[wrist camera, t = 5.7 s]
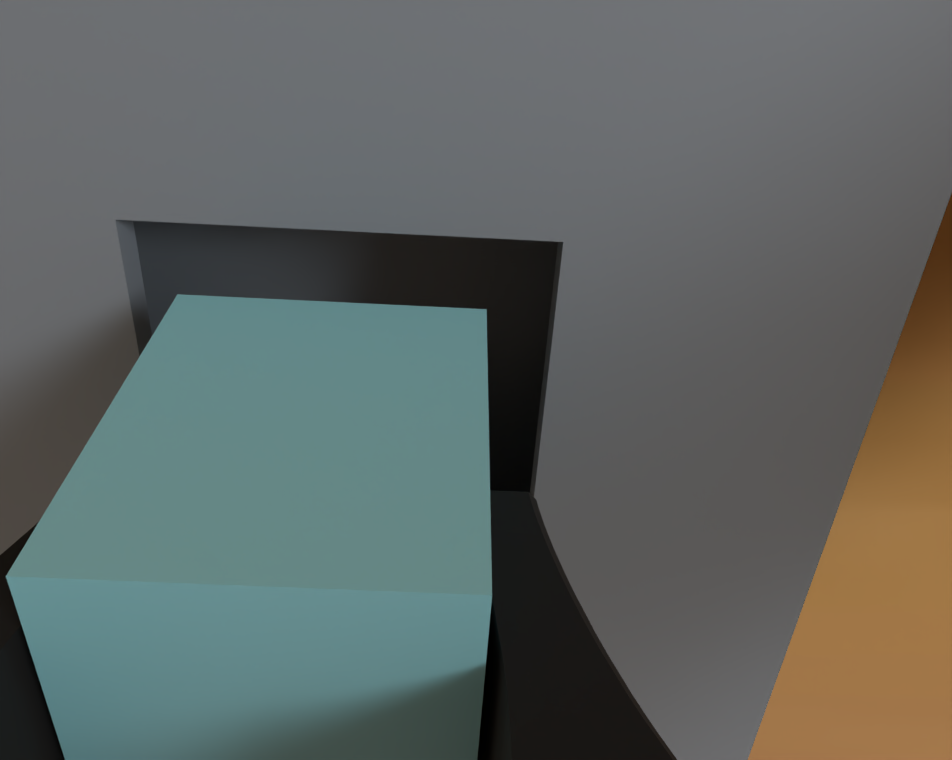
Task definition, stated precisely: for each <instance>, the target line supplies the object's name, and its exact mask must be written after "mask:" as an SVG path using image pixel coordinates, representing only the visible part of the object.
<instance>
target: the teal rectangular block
mask: <svg viewBox="0 0 952 760" xmlns="http://www.w3.org/2000/svg"><path fill="white" fill-rule="evenodd" d="M6 579H7V582H8V585H9V588H10V591H11V594H12V597H13V600H14V603H15V607H16V610H17V613H18V616H19V619H20V622H21V625H22V628H23V631H24V634H25V637H26V641H27V644H28V647H29V650H30V653H31V656H32V659H33V662H34V665H35V668H36V671H37V675H38V678H39V681H40V684H41V687H42V690H43V693H44V696H45V699H46V702H47V705H48V709H49V712H50V715H51V718H52V721H53V724H54V727H55V730H56V733H57V736H58V740H59V743H60V746H61V749H62V752H63V755H64V758H65V760H477V757H478V746H479V735H480V724H481V713H482V702H483V691H484V680H485V669H486V658H487V647H488V636H489V625H490V614H491V603H492V560H491V510H490V459H489V408H488V357H487V309H471V308H450V307H429V306H409V305H388V304H367V303H346V302H326V301H305V300H284V299H264V298H243V297H222V296H202V295H181V294H177V296H176V298H175V299H174V301H173V303H172V304H171V306H170V307H169V309H168V311H167V312H166V314H165V316H164V317H163V319H162V321H161V322H160V324H159V326H158V327H157V329H156V330H155V332H154V334H153V335H152V337H151V339H150V340H149V342H148V344H147V345H146V347H145V349H144V350H143V352H142V353H141V355H140V357H139V358H138V360H137V362H136V363H135V365H134V367H133V368H132V370H131V372H130V373H129V375H128V376H127V378H126V380H125V381H124V383H123V385H122V386H121V388H120V390H119V391H118V393H117V394H116V396H115V398H114V399H113V401H112V403H111V404H110V406H109V408H108V409H107V411H106V413H105V414H104V416H103V417H102V419H101V421H100V422H99V424H98V426H97V427H96V429H95V431H94V432H93V434H92V436H91V437H90V439H89V440H88V442H87V444H86V445H85V447H84V449H83V450H82V452H81V454H80V455H79V457H78V459H77V460H76V462H75V463H74V465H73V467H72V468H71V470H70V472H69V473H68V475H67V477H66V478H65V480H64V482H63V483H62V485H61V486H60V488H59V490H58V491H57V493H56V495H55V496H54V498H53V500H52V501H51V503H50V505H49V506H48V508H47V509H46V511H45V513H44V514H43V516H42V518H41V519H40V521H39V523H38V524H37V526H36V528H35V529H34V531H33V532H32V534H31V536H30V537H29V539H28V541H27V542H26V544H25V546H24V547H23V549H22V551H21V552H20V554H19V555H18V557H17V559H16V560H15V562H14V564H13V565H12V567H11V569H10V570H9V572H8V574H7V575H6Z"/></svg>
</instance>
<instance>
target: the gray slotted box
mask: <svg viewBox="0 0 952 760" xmlns="http://www.w3.org/2000/svg"><path fill="white" fill-rule="evenodd" d="M951 193H952V0H0V555H1V554H2V553H3V552H4V551H6V550H7V549H8V548H9V547H10V546H11V545H12V544H14V543H15V542H16V541H17V540H18V539H19V538H21V537H22V536H23V535H24V534H25V533H26V532H27V531H29V530H30V529H31V528H32V527H33V526H34V525H35V524H37V523H38V522H39V521H40V519H41V518H42V516H43V514H44V513H45V511H46V509H47V508H48V506H49V505H50V503H51V501H52V500H53V498H54V496H55V495H56V493H57V491H58V490H59V488H60V486H61V485H62V483H63V482H64V480H65V478H66V477H67V475H68V473H69V472H70V470H71V468H72V467H73V465H74V463H75V462H76V460H77V459H78V457H79V455H80V454H81V452H82V450H83V449H84V447H85V445H86V444H87V442H88V440H89V439H90V437H91V436H92V434H93V432H94V431H95V429H96V427H97V426H98V424H99V422H100V421H101V419H102V417H103V416H104V414H105V413H106V411H107V409H108V408H109V406H110V404H111V403H112V401H113V399H114V398H115V396H116V394H117V393H118V391H119V390H120V388H121V386H122V385H123V383H124V381H125V380H126V378H127V376H128V375H129V373H130V372H131V370H132V368H133V367H134V365H135V363H136V362H137V360H138V358H139V357H140V355H141V353H142V352H143V350H144V349H145V347H146V345H147V344H148V342H149V340H150V339H151V337H152V335H153V334H154V332H155V330H156V329H157V327H158V326H159V324H160V322H161V321H162V319H163V317H164V316H165V314H166V312H167V311H168V309H169V307H170V306H171V304H172V303H173V301H174V299H175V298H176V296H177V294H181V295H202V296H222V297H243V298H264V299H284V300H305V301H326V302H346V303H367V304H388V305H409V306H429V307H450V308H471V309H487V357H488V408H489V459H490V490H495V491H519V492H529V493H530V494H531V495H532V496H533V497H534V498H535V499H536V500H537V504H538V507H539V510H540V514H541V516H542V519H543V522H544V525H545V528H546V530H547V533H548V535H549V538H550V540H551V543H552V545H553V548H554V550H555V552H556V554H557V557H558V559H559V561H560V563H561V566H562V568H563V570H564V572H565V574H566V576H567V579H568V581H569V583H570V585H571V587H572V589H573V591H574V593H575V595H576V597H577V599H578V600H579V602H580V604H581V606H582V608H583V610H584V612H585V614H586V616H587V617H588V619H589V621H590V623H591V625H592V627H593V629H594V631H595V633H596V634H597V636H598V638H599V640H600V641H601V643H602V645H603V647H604V648H605V650H606V652H607V654H608V655H609V657H610V659H611V660H612V662H613V664H614V665H615V667H616V669H617V670H618V672H619V674H620V675H621V677H622V678H623V680H624V682H625V683H626V685H627V687H628V688H629V690H630V692H631V693H632V695H633V696H634V698H635V699H636V701H637V702H638V704H639V705H640V707H641V708H642V710H643V712H644V713H645V715H646V716H647V718H648V719H649V720H650V722H651V723H652V725H653V726H654V728H655V729H656V731H657V732H658V734H659V735H660V736H661V738H662V739H663V741H664V742H665V743H666V745H667V746H668V748H669V749H670V750H671V752H672V753H673V755H674V756H675V757H676V759H677V760H747V759H748V757H749V754H750V751H751V748H752V746H753V743H754V740H755V737H756V734H757V732H758V729H759V726H760V723H761V721H762V718H763V715H764V712H765V709H766V707H767V704H768V701H769V698H770V696H771V693H772V690H773V687H774V684H775V682H776V679H777V676H778V673H779V671H780V668H781V665H782V662H783V660H784V657H785V654H786V651H787V648H788V646H789V643H790V640H791V637H792V635H793V632H794V629H795V626H796V623H797V621H798V618H799V615H800V612H801V610H802V607H803V604H804V601H805V598H806V596H807V593H808V590H809V587H810V585H811V582H812V579H813V576H814V573H815V571H816V568H817V565H818V562H819V560H820V557H821V554H822V551H823V549H824V546H825V543H826V540H827V537H828V535H829V532H830V529H831V526H832V524H833V521H834V518H835V515H836V512H837V510H838V507H839V504H840V501H841V499H842V496H843V493H844V490H845V487H846V485H847V482H848V479H849V476H850V474H851V471H852V468H853V465H854V462H855V460H856V457H857V454H858V451H859V449H860V446H861V443H862V440H863V438H864V435H865V432H866V429H867V426H868V424H869V421H870V418H871V415H872V413H873V410H874V407H875V404H876V401H877V399H878V396H879V393H880V390H881V388H882V385H883V382H884V379H885V376H886V374H887V371H888V368H889V365H890V363H891V360H892V357H893V354H894V352H895V349H896V346H897V343H898V340H899V338H900V335H901V332H902V329H903V327H904V324H905V321H906V318H907V315H908V313H909V310H910V307H911V304H912V302H913V299H914V296H915V293H916V290H917V288H918V285H919V282H920V279H921V277H922V274H923V271H924V268H925V265H926V263H927V260H928V257H929V254H930V252H931V249H932V246H933V243H934V241H935V238H936V235H937V232H938V229H939V227H940V224H941V221H942V218H943V216H944V213H945V210H946V207H947V204H948V202H949V199H950V196H951Z"/></svg>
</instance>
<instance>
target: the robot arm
mask: <svg viewBox="0 0 952 760" xmlns="http://www.w3.org/2000/svg"><path fill="white" fill-rule="evenodd" d="M490 510H491V560H492V603H491V614H490V625H489V636H488V647H487V658H486V669H485V680H484V691H483V702H482V713H481V724H480V735H479V746H478V757H477V760H677V759H676V757H675V756H674V755H673V753H672V752H671V750H670V749H669V748H668V746H667V745H666V743H665V742H664V741H663V739H662V738H661V736H660V735H659V734H658V732H657V731H656V729H655V728H654V726H653V725H652V723H651V722H650V720H649V719H648V718H647V716H646V715H645V713H644V712H643V710H642V708H641V707H640V705H639V704H638V702H637V701H636V699H635V698H634V696H633V695H632V693H631V692H630V690H629V688H628V687H627V685H626V683H625V682H624V680H623V678H622V677H621V675H620V674H619V672H618V670H617V669H616V667H615V665H614V664H613V662H612V660H611V659H610V657H609V655H608V654H607V652H606V650H605V648H604V647H603V645H602V643H601V641H600V640H599V638H598V636H597V634H596V633H595V631H594V629H593V627H592V625H591V623H590V621H589V619H588V617H587V616H586V614H585V612H584V610H583V608H582V606H581V604H580V602H579V600H578V599H577V597H576V595H575V593H574V591H573V589H572V587H571V585H570V583H569V581H568V579H567V576H566V574H565V572H564V570H563V568H562V566H561V563H560V561H559V559H558V557H557V554H556V552H555V550H554V548H553V545H552V543H551V540H550V538H549V535H548V533H547V530H546V528H545V525H544V522H543V519H542V516H541V514H540V510H539V507H538V504H537V500H536V499H535V498H534V497H533V496H532V495H531V494H530V493H529V492H519V491H495V490H490ZM38 523H39V522H38ZM38 523H37V524H38ZM37 524H35V525H34V526H33V527H32V528H31V529H30V530H29V531H27V532H26V533H25V534H24V535H23V536H22V537H21V538H19V539H18V540H17V541H16V542H15V543H14V544H12V545H11V546H10V547H9V548H8V549H7V550H6V551H4V552H3V553H2V554H1V555H0V760H65V758H64V755H63V752H62V749H61V746H60V743H59V740H58V736H57V733H56V730H55V727H54V724H53V721H52V718H51V715H50V712H49V709H48V705H47V702H46V699H45V696H44V693H43V690H42V687H41V684H40V681H39V678H38V675H37V671H36V668H35V665H34V662H33V659H32V656H31V653H30V650H29V647H28V644H27V641H26V637H25V634H24V631H23V628H22V625H21V622H20V619H19V616H18V613H17V610H16V607H15V603H14V600H13V597H12V594H11V591H10V588H9V585H8V582H7V579H6V575H7V574H8V572H9V570H10V569H11V567H12V565H13V564H14V562H15V560H16V559H17V557H18V555H19V554H20V552H21V551H22V549H23V547H24V546H25V544H26V542H27V541H28V539H29V537H30V536H31V534H32V532H33V531H34V529H35V528H36V526H37Z"/></svg>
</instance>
